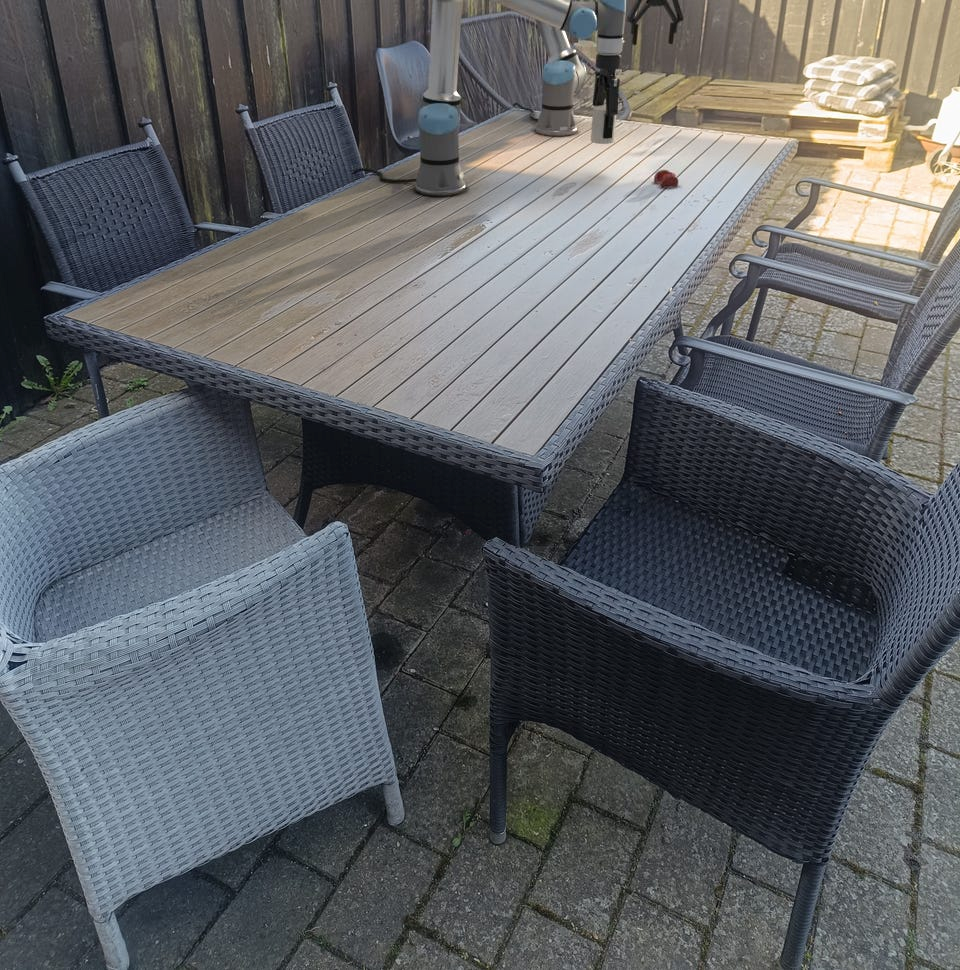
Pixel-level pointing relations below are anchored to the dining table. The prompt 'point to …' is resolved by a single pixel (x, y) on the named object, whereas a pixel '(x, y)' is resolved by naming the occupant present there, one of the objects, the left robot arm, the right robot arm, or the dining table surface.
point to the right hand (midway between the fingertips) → (652, 44)
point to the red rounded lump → (666, 178)
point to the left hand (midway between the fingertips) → (602, 134)
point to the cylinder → (600, 126)
